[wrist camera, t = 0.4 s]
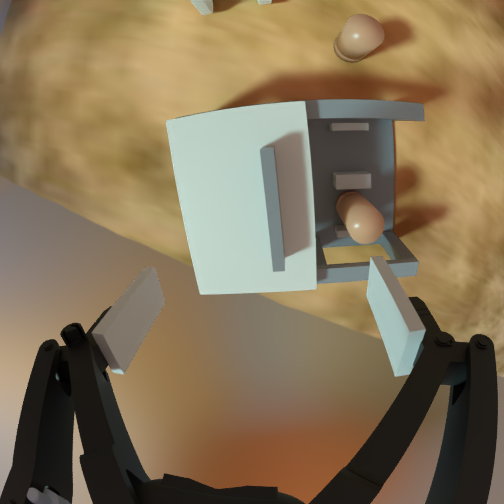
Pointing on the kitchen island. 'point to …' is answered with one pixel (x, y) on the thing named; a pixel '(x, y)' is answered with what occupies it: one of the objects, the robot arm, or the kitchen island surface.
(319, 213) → the housing
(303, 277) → the lid
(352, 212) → the seated rounded capsule
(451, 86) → the kitchen island surface
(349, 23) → the pink rounded capsule
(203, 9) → the cable organizer
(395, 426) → the robot arm
